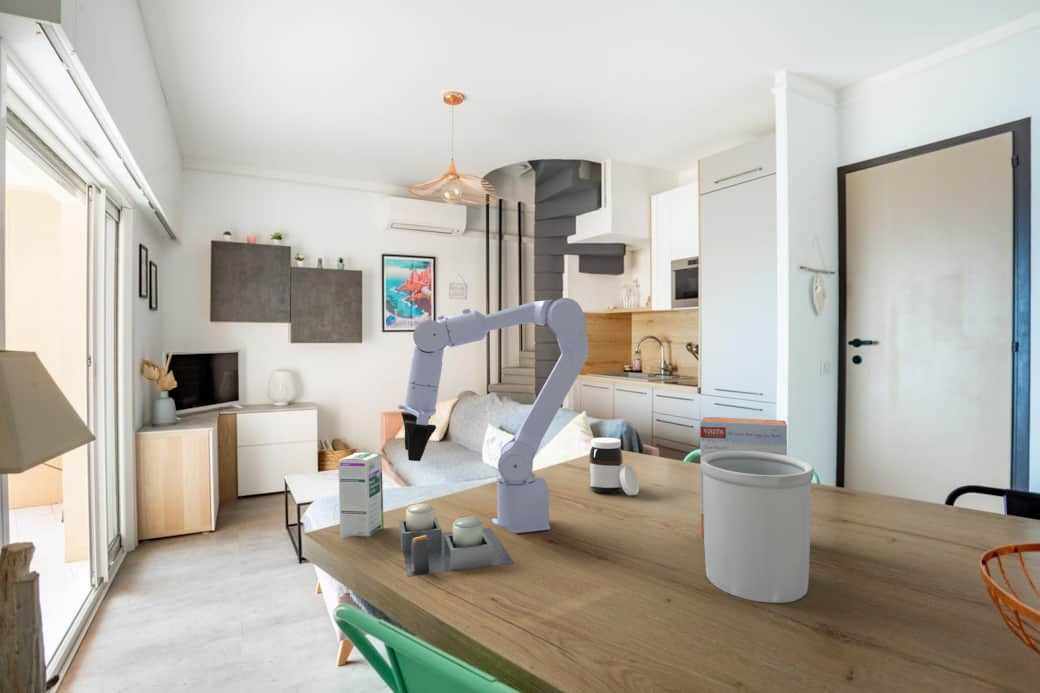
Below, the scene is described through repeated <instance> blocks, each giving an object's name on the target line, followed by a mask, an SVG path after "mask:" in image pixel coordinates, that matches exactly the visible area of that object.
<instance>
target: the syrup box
mask: <svg viewBox="0 0 1040 693" xmlns="http://www.w3.org/2000/svg"><path fill="white" fill-rule="evenodd" d="M382 456H383V455H382V454H381V453H380V452H379V453H377V452H365V451H364V452H354V453H353V454H350V455H348V456H346V457H343V458H340V459H339V460H338V495H339V496H338V498H339V499H338V500H339V529H340V531H339V532H340V539H344V538H349V537H353V536H358V537H370V536H372V535H373V534H375V533H376V532H378V531H380V530H384V529H385V526H384V524H385V522H384V496H383V494H384V492H383V491H384V490H383V488H384V487H383V458H382Z"/></svg>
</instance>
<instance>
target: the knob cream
mask: <svg viewBox="0 0 1040 693" xmlns="http://www.w3.org/2000/svg"><path fill="white" fill-rule="evenodd" d="M434 511H435V510H434V507H433V506H432V505H431V504H427V503H416V504H412V505H409V506H407V508H406V509H405V520H406V530H407V531H410V532H411V531H421V530H430V529H433V528H434V514H435V513H434Z"/></svg>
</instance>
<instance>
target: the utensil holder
mask: <svg viewBox="0 0 1040 693" xmlns="http://www.w3.org/2000/svg"><path fill="white" fill-rule="evenodd" d="M701 469H702V471H703V506H704V536H703V542H704V543H703V544H704V559H705V560H704V562H705V574H706V576H707V579H708V580H709V582H710V583H711V584H712V585H713V586H714V587H716V588H718V589H719V590H720V591H723V592H725V593H727V594H729V595H732V596H734V597H737V598H740V599H744V600H747V601H752V602H753V601H754V602H759V603H769V604H771V603H772V604H783V603H791V602H794V601H798V600H800V599H803V597H804V596H805V595H806V594H808V590H809V578H810V577H809V576H810V553H811V552H810V550H811V546H810V545H811V505H812V504H811V503H812V502H811V499H812V498H811V497H812V496H811V495H812V481H813V478H814V475H815V474H814V471H815V470H814V466H813V465H812V464H810V463H809V462H807V461H805V460H803V459H801V458H796V457H793V456H789V455H787V456H786V455H780V454H774V453H766V452H755V451H722V452H714V453H709V454H706V455H704V456H703V457H702V458H701V464H700V470H701Z"/></svg>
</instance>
